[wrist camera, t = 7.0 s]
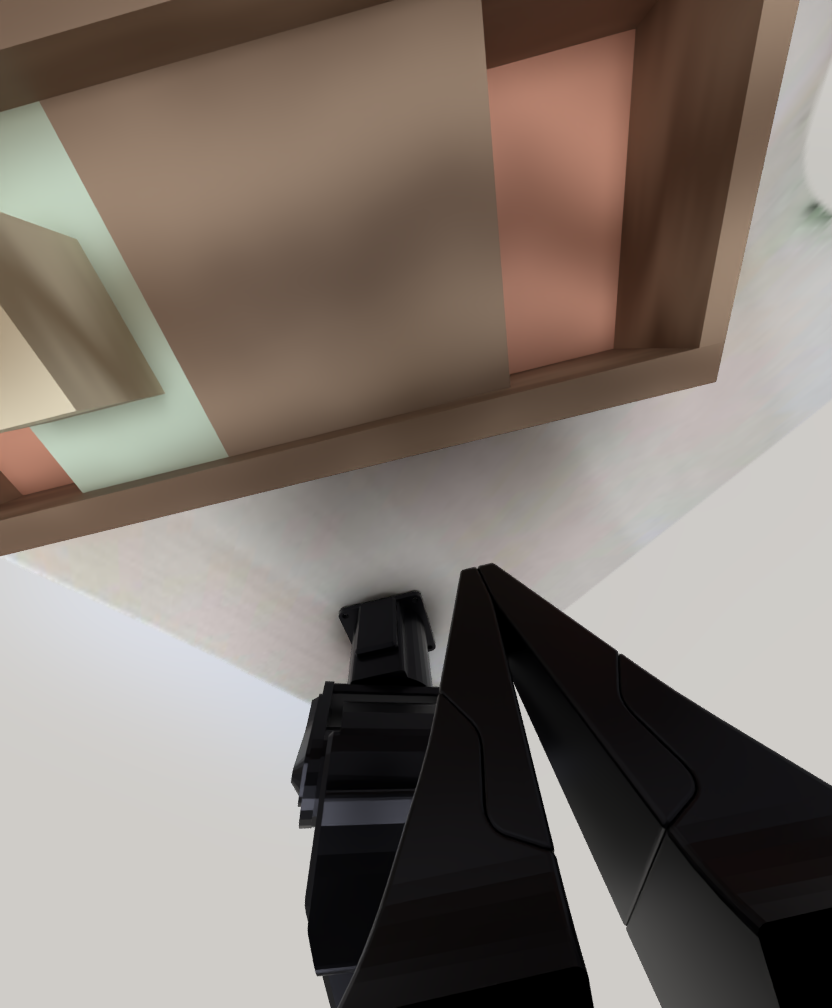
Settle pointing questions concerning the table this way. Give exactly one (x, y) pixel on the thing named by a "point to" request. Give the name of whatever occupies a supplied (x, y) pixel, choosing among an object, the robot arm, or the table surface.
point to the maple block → (60, 333)
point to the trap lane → (375, 225)
